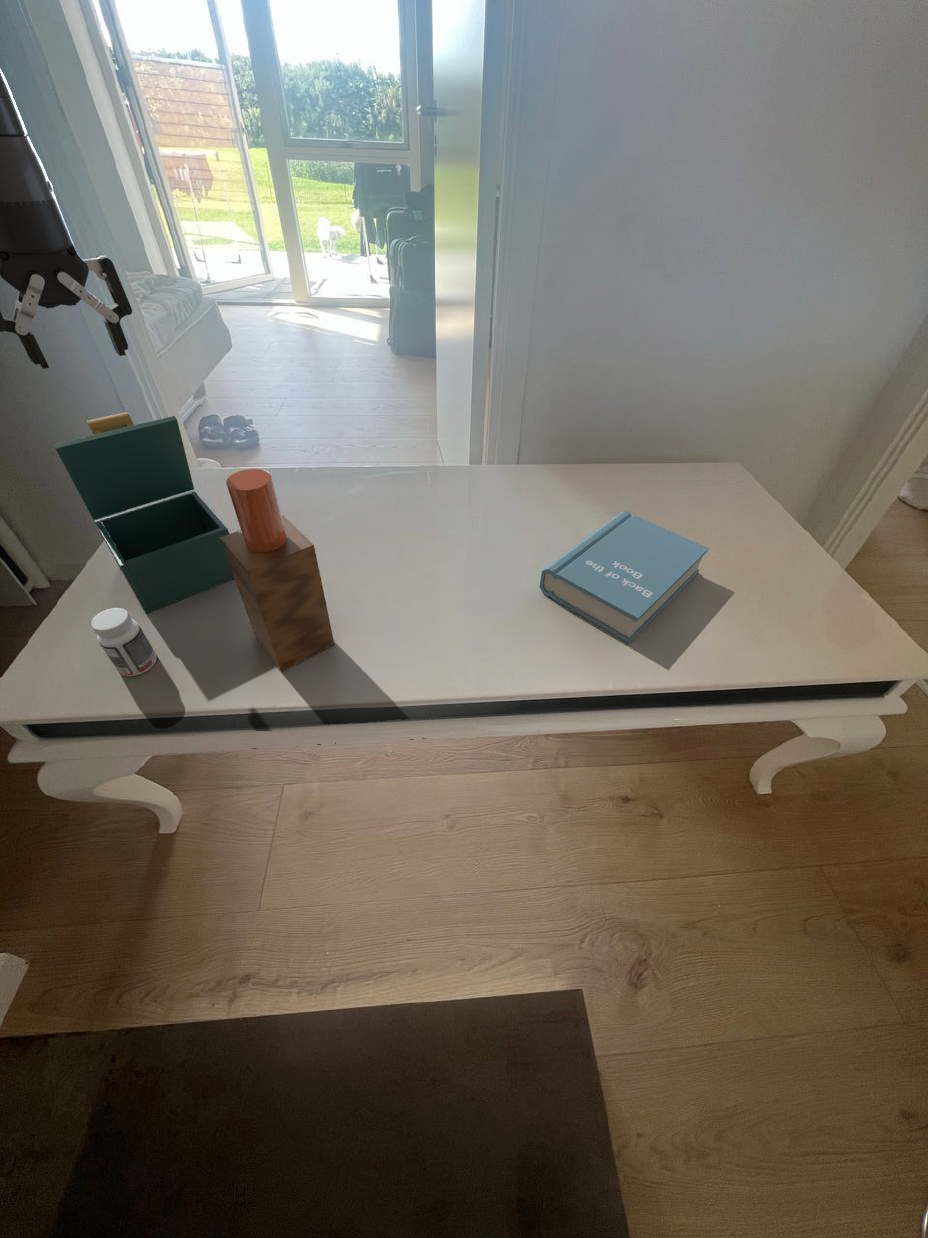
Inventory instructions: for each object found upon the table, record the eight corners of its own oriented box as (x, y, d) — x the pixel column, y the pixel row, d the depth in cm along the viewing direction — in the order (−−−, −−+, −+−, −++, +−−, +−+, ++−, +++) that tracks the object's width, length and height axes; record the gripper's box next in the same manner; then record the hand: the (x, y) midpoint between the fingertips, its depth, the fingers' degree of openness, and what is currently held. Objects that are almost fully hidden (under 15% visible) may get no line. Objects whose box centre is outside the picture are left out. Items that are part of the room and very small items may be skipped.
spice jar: (255, 557, 59) (236, 494, 53) (239, 538, 61) (219, 476, 55) (293, 543, 61) (279, 481, 55) (276, 525, 63) (260, 464, 58)
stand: (280, 672, 69) (247, 571, 57) (255, 637, 73) (219, 537, 61) (334, 644, 72) (314, 544, 61) (307, 613, 77) (283, 514, 65)
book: (628, 643, 74) (638, 618, 71) (538, 591, 82) (542, 566, 78) (698, 572, 87) (708, 548, 83) (614, 532, 94) (620, 508, 91)
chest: (243, 575, 83) (227, 528, 76) (145, 614, 76) (120, 566, 70) (211, 535, 90) (194, 490, 84) (119, 567, 83) (93, 520, 77)
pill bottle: (156, 646, 71) (130, 600, 65) (158, 670, 68) (132, 624, 62) (117, 656, 70) (87, 611, 64) (118, 682, 67) (87, 636, 61)
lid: (177, 419, 71) (160, 393, 72) (55, 448, 64) (38, 419, 65) (194, 489, 83) (179, 466, 85) (93, 520, 76) (79, 494, 78)
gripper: (79, 188, 59) (135, 342, 71) (-80, 191, 52) (11, 362, 64) (97, 195, 55) (153, 358, 67) (-73, 200, 48) (22, 380, 60)
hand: (84, 360), depth 65 cm, fingers open, 8 cm apart
